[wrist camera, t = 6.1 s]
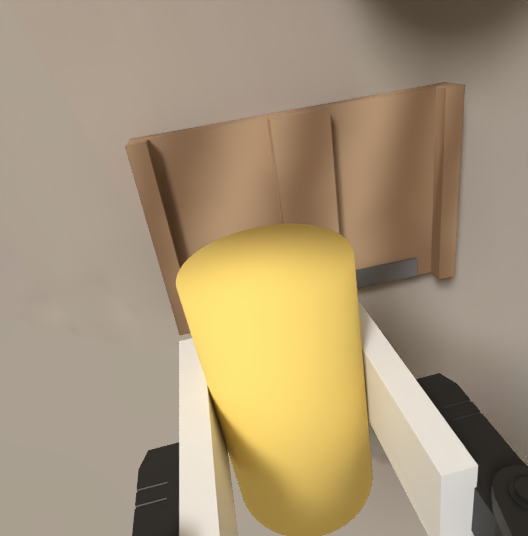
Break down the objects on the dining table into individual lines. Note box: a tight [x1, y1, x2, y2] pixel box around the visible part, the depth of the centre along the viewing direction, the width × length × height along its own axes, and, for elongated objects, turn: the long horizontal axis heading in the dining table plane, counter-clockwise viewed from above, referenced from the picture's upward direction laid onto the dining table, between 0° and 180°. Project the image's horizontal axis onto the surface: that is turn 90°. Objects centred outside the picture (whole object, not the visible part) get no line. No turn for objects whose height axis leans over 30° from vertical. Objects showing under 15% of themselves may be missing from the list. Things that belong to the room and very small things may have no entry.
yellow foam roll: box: [176, 224, 372, 536], centre depth 13 cm, size 8×4×4 cm, turn 10°
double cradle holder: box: [125, 82, 465, 335], centre depth 25 cm, size 17×11×2 cm, turn 99°
